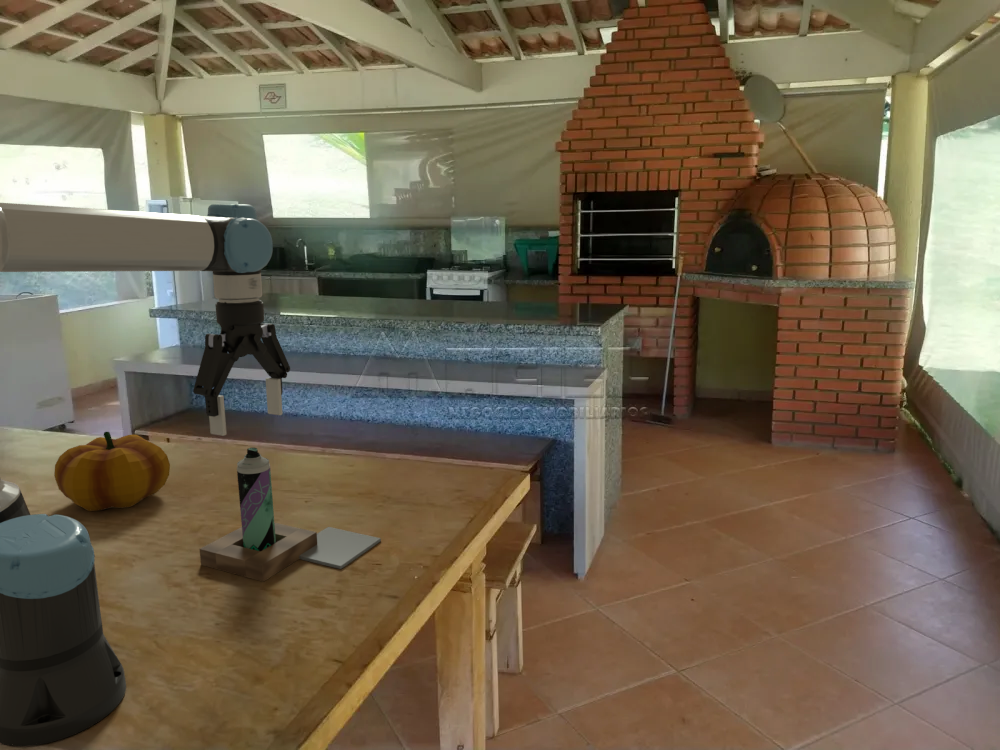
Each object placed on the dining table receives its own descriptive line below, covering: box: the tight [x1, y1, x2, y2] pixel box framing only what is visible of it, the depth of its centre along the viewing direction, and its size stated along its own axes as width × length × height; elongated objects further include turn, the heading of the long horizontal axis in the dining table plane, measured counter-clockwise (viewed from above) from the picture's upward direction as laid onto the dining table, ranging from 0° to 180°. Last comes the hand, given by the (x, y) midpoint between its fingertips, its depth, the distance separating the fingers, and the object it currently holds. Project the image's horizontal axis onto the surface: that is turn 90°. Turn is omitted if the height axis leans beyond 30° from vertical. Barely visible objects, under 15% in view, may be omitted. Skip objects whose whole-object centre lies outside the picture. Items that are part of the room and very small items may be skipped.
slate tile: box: [298, 526, 382, 570], centre depth 136 cm, size 12×12×1 cm
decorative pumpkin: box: [53, 431, 171, 512], centre depth 157 cm, size 20×22×15 cm
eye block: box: [198, 522, 318, 582], centre depth 133 cm, size 14×14×3 cm
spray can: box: [236, 447, 276, 552], centre depth 131 cm, size 6×6×20 cm
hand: (248, 423), depth 128 cm, fingers open, 13 cm apart
